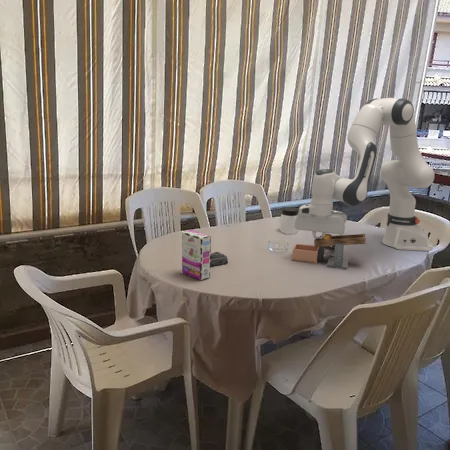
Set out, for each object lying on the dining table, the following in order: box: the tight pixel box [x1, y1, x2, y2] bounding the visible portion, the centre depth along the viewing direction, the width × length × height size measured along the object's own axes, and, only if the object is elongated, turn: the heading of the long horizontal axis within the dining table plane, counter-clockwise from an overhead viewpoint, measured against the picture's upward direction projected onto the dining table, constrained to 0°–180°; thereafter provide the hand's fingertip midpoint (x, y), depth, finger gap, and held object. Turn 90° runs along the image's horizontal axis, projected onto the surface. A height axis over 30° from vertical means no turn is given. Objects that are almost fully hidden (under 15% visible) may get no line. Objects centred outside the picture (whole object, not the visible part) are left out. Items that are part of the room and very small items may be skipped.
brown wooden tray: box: [313, 233, 367, 247], centre depth 190 cm, size 20×9×3 cm, turn 73°
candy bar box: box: [181, 229, 212, 281], centre depth 173 cm, size 11×5×16 cm, turn 45°
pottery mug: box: [319, 233, 335, 249], centre depth 210 cm, size 12×10×8 cm
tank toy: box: [210, 251, 229, 267], centre depth 188 cm, size 12×10×5 cm
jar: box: [279, 206, 299, 235], centre depth 233 cm, size 9×8×12 cm
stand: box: [317, 243, 350, 270], centre depth 191 cm, size 12×13×10 cm
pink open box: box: [291, 243, 319, 264], centre depth 195 cm, size 10×8×5 cm
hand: (318, 241), depth 192 cm, fingers closed
